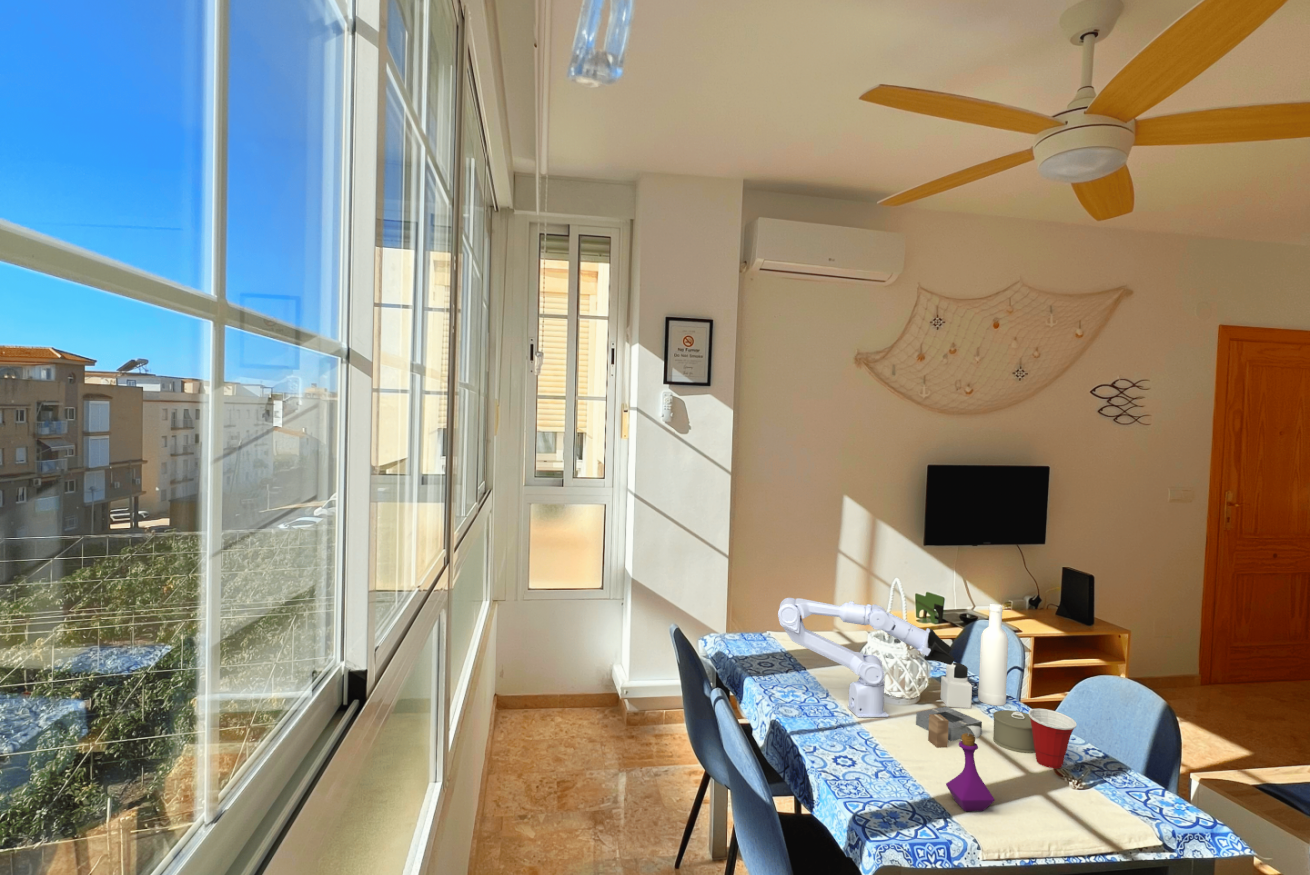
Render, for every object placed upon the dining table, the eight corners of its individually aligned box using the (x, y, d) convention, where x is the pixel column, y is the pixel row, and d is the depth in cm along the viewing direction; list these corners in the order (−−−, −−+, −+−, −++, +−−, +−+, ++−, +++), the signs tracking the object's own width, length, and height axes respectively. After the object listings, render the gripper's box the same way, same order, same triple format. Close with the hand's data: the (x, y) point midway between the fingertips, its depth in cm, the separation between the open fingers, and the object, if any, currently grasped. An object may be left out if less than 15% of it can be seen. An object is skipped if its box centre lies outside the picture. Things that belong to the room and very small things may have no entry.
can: (991, 747, 196) (992, 721, 196) (992, 731, 207) (993, 706, 207) (1043, 757, 191) (1044, 731, 191) (1041, 740, 202) (1042, 715, 202)
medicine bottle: (963, 700, 231) (965, 661, 231) (971, 708, 224) (973, 669, 224) (940, 698, 232) (941, 660, 232) (946, 707, 225) (948, 667, 224)
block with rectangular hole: (950, 741, 199) (951, 727, 199) (915, 724, 210) (916, 711, 210) (981, 734, 205) (981, 720, 205) (945, 718, 215) (946, 705, 215)
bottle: (1010, 706, 227) (1014, 608, 227) (984, 705, 227) (988, 607, 227) (998, 697, 235) (1003, 602, 235) (973, 696, 235) (977, 601, 235)
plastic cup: (1056, 777, 180) (1058, 727, 180) (1016, 758, 190) (1018, 711, 190) (1084, 769, 185) (1086, 721, 185) (1044, 751, 195) (1046, 706, 195)
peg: (936, 747, 195) (937, 720, 195) (928, 740, 199) (929, 713, 199) (947, 747, 195) (948, 720, 195) (938, 740, 200) (939, 713, 200)
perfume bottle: (944, 798, 168) (948, 718, 167) (976, 797, 168) (980, 718, 168) (961, 815, 160) (964, 732, 160) (994, 815, 161) (998, 732, 161)
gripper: (914, 630, 208) (961, 654, 205) (911, 612, 222) (955, 635, 219) (902, 651, 209) (948, 675, 207) (900, 632, 223) (943, 655, 220)
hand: (951, 656), depth 213 cm, fingers open, 7 cm apart
